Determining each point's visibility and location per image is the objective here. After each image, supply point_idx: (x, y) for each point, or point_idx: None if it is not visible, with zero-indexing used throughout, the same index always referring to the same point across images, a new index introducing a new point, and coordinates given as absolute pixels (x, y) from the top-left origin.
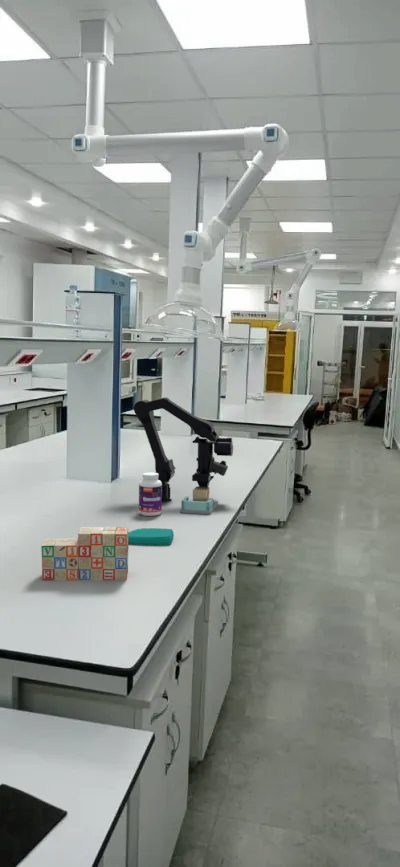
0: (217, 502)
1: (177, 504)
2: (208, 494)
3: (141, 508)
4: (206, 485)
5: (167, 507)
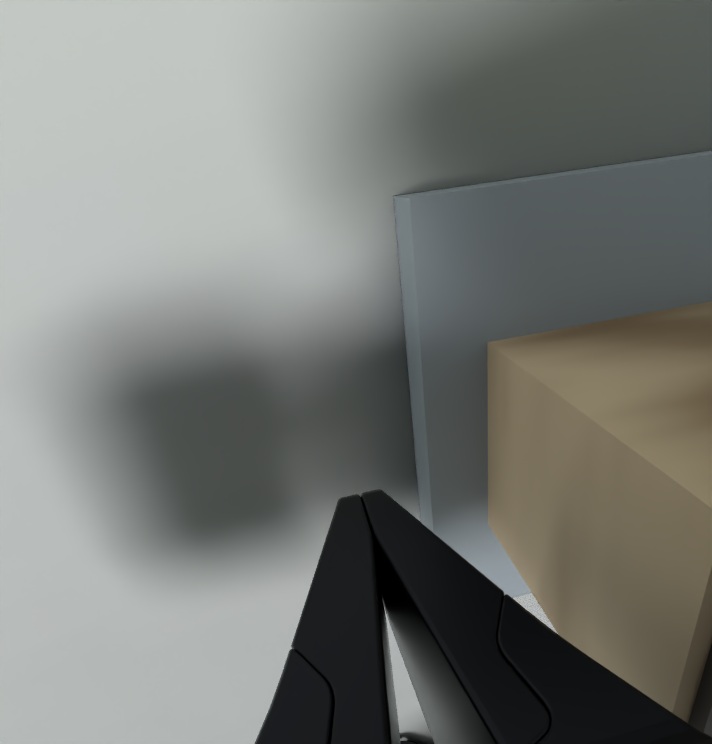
0: (466, 188)
1: None
2: (679, 390)
3: None
4: (585, 679)
5: None
